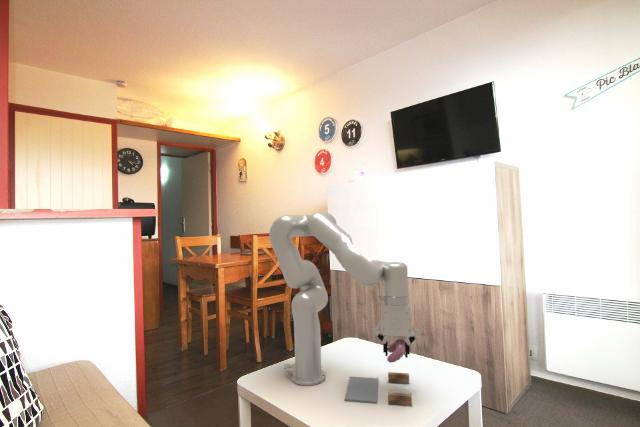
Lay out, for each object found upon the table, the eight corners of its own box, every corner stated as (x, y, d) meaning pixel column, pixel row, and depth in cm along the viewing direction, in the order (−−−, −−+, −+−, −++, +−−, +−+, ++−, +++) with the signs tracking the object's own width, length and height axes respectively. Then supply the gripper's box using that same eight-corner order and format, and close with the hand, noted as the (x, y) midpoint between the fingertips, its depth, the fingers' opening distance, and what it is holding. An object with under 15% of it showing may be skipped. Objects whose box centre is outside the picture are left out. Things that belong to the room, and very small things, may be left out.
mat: (344, 401, 108) (344, 399, 108) (350, 378, 123) (350, 376, 123) (376, 403, 106) (376, 401, 106) (378, 380, 121) (378, 378, 121)
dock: (388, 404, 105) (387, 394, 105) (388, 380, 121) (388, 372, 121) (411, 406, 104) (411, 396, 104) (408, 382, 119) (408, 373, 119)
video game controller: (399, 368, 107) (409, 349, 107) (386, 361, 108) (395, 342, 108) (398, 356, 117) (407, 338, 117) (386, 349, 118) (395, 331, 117)
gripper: (369, 301, 111) (369, 357, 111) (424, 304, 108) (424, 362, 107) (370, 296, 118) (370, 349, 118) (422, 298, 115) (422, 353, 115)
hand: (396, 354), depth 113 cm, fingers closed on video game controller, 5 cm apart
